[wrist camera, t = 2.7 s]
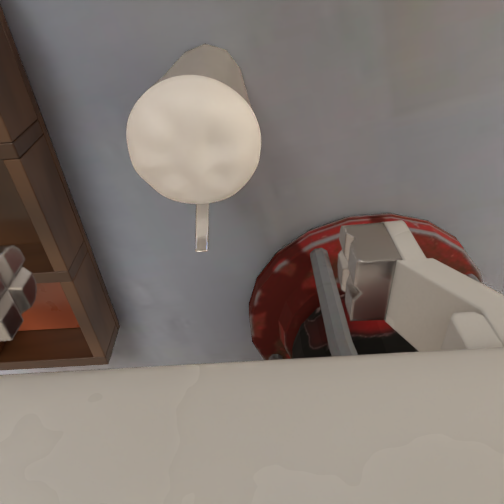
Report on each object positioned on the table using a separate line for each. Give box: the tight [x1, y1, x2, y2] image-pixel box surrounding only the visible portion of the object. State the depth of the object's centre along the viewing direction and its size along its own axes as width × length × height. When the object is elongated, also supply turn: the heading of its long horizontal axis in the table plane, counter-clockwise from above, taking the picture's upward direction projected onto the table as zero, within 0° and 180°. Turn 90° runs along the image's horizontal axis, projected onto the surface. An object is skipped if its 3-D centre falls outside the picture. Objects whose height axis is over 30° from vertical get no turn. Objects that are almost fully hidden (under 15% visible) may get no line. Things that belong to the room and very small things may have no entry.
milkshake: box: [126, 44, 261, 252], centre depth 17 cm, size 4×5×10 cm
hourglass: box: [249, 213, 482, 360], centre depth 21 cm, size 16×16×25 cm
